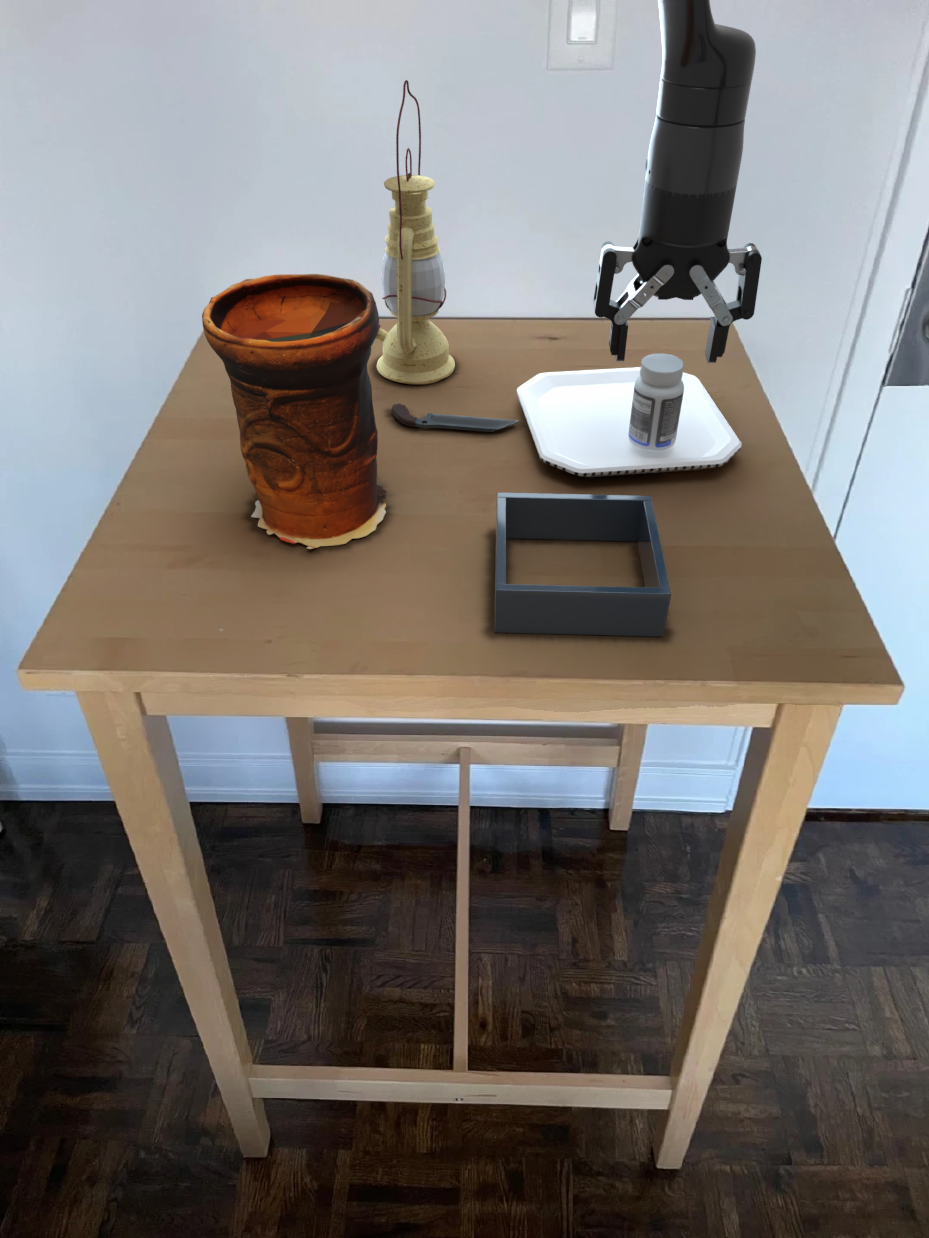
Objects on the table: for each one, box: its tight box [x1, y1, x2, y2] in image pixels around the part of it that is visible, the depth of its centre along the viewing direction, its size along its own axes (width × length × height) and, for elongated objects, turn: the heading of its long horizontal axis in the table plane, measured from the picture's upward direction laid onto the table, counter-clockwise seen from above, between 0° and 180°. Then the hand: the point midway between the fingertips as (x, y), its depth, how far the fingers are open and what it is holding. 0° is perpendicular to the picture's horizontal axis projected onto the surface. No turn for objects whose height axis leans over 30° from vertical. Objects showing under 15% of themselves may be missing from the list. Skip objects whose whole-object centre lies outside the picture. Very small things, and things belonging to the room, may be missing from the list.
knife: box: [390, 403, 520, 433], centre depth 101 cm, size 14×4×1 cm, turn 81°
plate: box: [516, 366, 742, 478], centre depth 99 cm, size 21×21×2 cm
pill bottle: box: [628, 353, 685, 451], centre depth 92 cm, size 5×5×8 cm
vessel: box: [201, 273, 388, 550], centre depth 83 cm, size 14×14×20 cm
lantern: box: [375, 79, 456, 385], centre depth 101 cm, size 12×10×30 cm
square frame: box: [493, 492, 672, 638], centre depth 80 cm, size 14×14×4 cm
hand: (664, 358), depth 89 cm, fingers open, 8 cm apart
